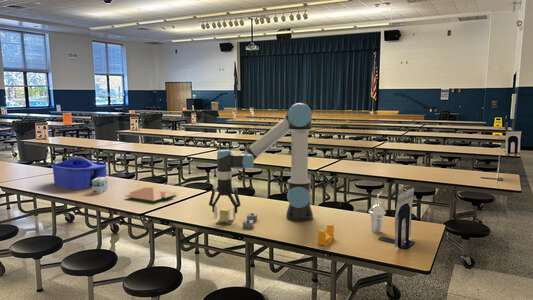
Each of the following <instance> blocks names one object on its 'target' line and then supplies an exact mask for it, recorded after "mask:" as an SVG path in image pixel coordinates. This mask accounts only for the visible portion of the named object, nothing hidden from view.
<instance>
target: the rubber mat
mask: <svg viewBox="0 0 533 300" xmlns="http://www.w3.org/2000/svg"><path fill="white" fill-rule="evenodd" d="M234 221H235V220H233V219H230V221H229V223H220V218H219V219H218V220H217V222H216V223H215V224H216V225H218V226H219V225H222V226H231V225H232V223H233V222H234Z"/></svg>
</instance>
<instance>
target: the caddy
mask: <svg viewBox="0 0 533 300" xmlns="http://www.w3.org/2000/svg"><path fill="white" fill-rule="evenodd" d="M107 166H108V164H107V163H106V162H102V161H101V162H98V161H92V160H89V159H87V158H85V157H83V156H80V155H79V156H78V155H76V156H73V157H70V158H68V159H66V160H63V161H60V162H57V163H56V162H55V163H53V164H51V166H50V167H51V168H52V175H53V183H54V186H55V187H57V186H59V187H58V188H62V187H64V188H63V189H67V188H68V189H67V190H86V188H87V189H89V188H90V186H91V184H92V180H93V179H95V178H98V177H107V175H106V174H107V173H106V172H107Z"/></svg>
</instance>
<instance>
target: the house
mask: <svg viewBox="0 0 533 300" xmlns="http://www.w3.org/2000/svg"><path fill="white" fill-rule="evenodd" d="M177 194H178V192H176V191H169V190H164V189H162V188H161V189H160V188H156V187H142V188H140V189H136V190H133V191H130V192H129V194H126V195H125V196H124V197H125V198H132V199H133V200H134V201H137V202H138V200H139V202H142V200H144V202H145V203H149V202H150V203H151V204H154V202H156V203H160V202H162V201H165V199H168V200H170V199H172V198H174V197H176V195H177ZM170 197H171V198H170ZM159 201H160V202H159Z"/></svg>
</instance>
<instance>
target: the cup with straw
mask: <svg viewBox="0 0 533 300" xmlns="http://www.w3.org/2000/svg"><path fill="white" fill-rule="evenodd" d="M382 193H383V190H381V191H380V192H379V193H378V194H377V196H376V204H373V205H372V206H371V207H370V208H369V209H368V214H369V217H370V224H371V225H370V227H371V232H372V233H375V234H377V233H381V232H382V227H383V221H384V217H385V215H386V214H387V212H386V210H385V209H384V207H383V206H382V205H381V204H379V197H380V195H381V194H382Z"/></svg>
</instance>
